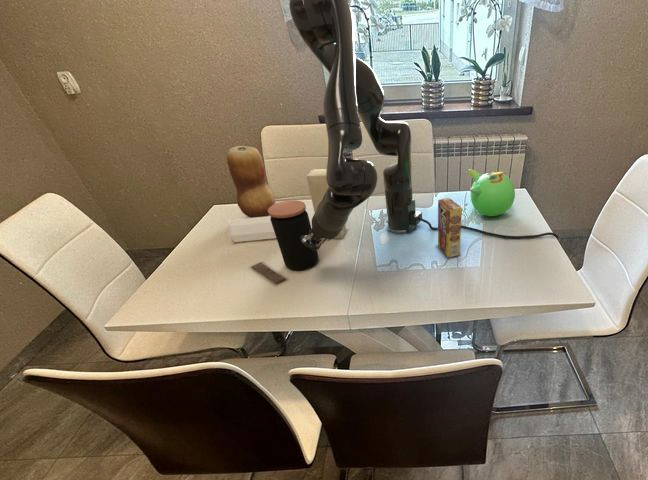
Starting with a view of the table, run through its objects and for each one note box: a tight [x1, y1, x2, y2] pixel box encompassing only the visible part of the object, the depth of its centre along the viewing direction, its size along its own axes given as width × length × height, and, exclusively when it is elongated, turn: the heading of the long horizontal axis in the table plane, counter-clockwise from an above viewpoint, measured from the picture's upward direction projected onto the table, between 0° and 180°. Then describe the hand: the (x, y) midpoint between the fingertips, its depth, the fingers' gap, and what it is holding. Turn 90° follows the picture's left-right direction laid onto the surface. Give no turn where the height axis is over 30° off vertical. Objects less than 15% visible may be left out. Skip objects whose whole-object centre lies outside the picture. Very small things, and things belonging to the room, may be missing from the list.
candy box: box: [437, 197, 463, 258], centre depth 116 cm, size 9×4×15 cm, turn 20°
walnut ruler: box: [251, 262, 286, 285], centre depth 116 cm, size 15×3×1 cm, turn 46°
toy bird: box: [467, 168, 516, 217], centre depth 136 cm, size 18×17×15 cm
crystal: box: [227, 215, 277, 243], centre depth 133 cm, size 7×7×24 cm
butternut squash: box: [226, 145, 276, 218], centre depth 139 cm, size 14×13×25 cm
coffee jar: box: [268, 199, 319, 272], centre depth 114 cm, size 11×11×18 cm
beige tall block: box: [306, 168, 347, 239], centre depth 127 cm, size 8×7×21 cm
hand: (314, 247), depth 108 cm, fingers closed
